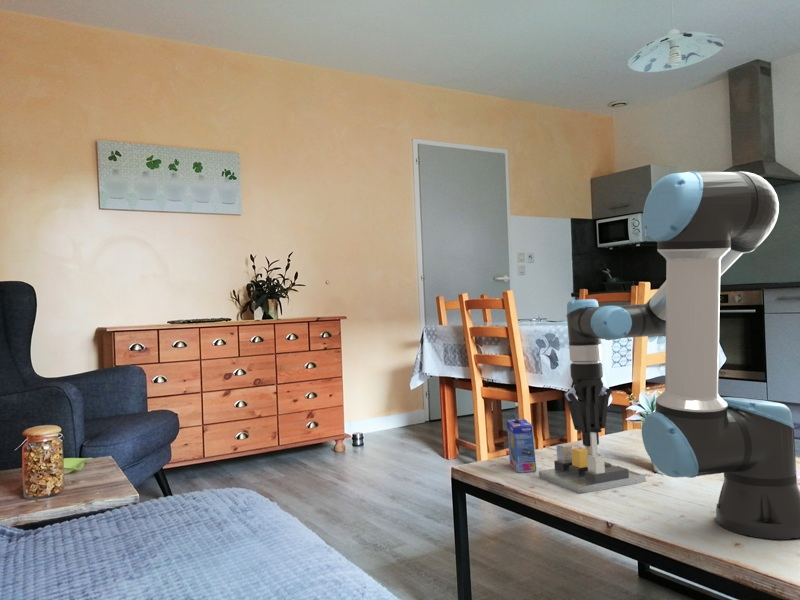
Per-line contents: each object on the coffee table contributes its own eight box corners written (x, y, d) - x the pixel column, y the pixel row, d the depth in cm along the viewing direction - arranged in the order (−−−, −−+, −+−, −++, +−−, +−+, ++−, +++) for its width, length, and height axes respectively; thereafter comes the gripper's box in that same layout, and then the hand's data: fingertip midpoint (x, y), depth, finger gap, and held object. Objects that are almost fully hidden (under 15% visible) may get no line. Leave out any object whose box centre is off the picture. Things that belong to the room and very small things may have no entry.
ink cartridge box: (508, 463, 164) (505, 411, 164) (528, 462, 164) (525, 409, 164) (515, 473, 154) (512, 417, 154) (537, 472, 154) (533, 415, 155)
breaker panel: (645, 481, 141) (643, 449, 141) (579, 493, 134) (577, 460, 134) (600, 466, 156) (598, 437, 156) (538, 477, 149) (537, 447, 149)
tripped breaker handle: (588, 466, 143) (587, 449, 143) (580, 468, 142) (579, 451, 142) (580, 463, 146) (579, 447, 146) (572, 465, 145) (571, 448, 145)
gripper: (597, 359, 152) (603, 452, 151) (554, 363, 147) (560, 459, 146) (617, 360, 145) (624, 458, 144) (573, 365, 140) (579, 465, 139)
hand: (591, 458), depth 145 cm, fingers closed
